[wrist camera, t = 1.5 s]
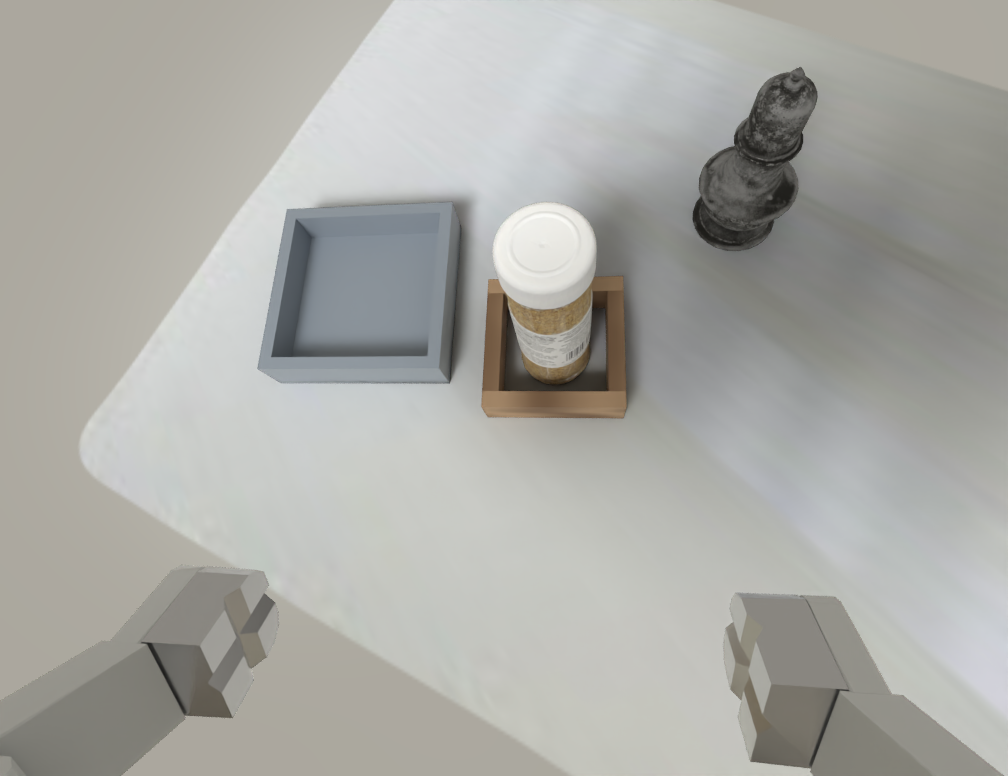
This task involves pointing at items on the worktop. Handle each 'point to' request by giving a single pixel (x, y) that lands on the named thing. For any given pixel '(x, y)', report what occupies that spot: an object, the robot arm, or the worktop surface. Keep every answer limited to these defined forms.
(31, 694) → the robot arm
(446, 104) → the worktop surface
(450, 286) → the slate tray
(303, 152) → the worktop surface
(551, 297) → the sprinkles bottle
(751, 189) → the salt shaker
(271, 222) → the worktop surface
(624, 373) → the walnut collar
